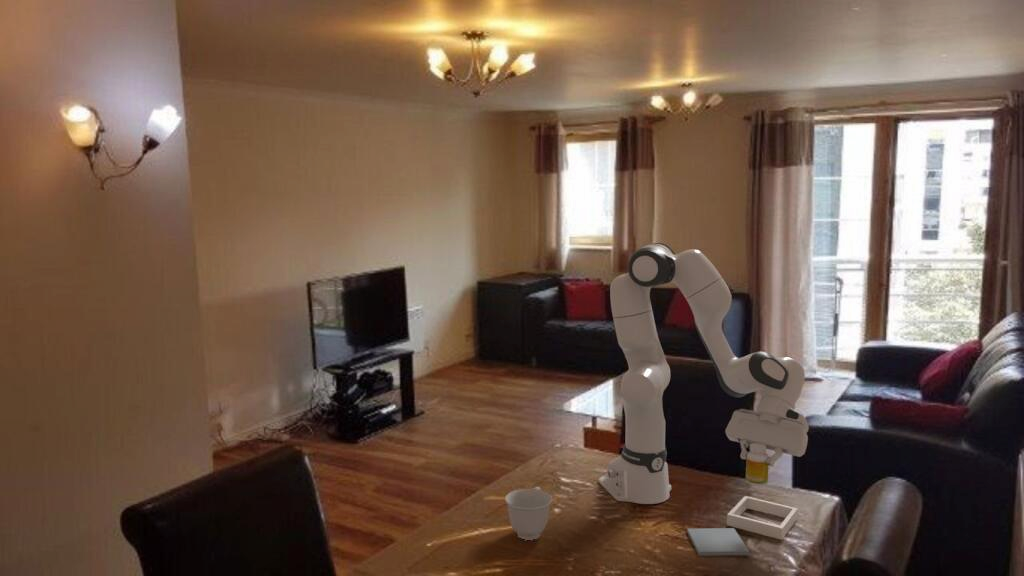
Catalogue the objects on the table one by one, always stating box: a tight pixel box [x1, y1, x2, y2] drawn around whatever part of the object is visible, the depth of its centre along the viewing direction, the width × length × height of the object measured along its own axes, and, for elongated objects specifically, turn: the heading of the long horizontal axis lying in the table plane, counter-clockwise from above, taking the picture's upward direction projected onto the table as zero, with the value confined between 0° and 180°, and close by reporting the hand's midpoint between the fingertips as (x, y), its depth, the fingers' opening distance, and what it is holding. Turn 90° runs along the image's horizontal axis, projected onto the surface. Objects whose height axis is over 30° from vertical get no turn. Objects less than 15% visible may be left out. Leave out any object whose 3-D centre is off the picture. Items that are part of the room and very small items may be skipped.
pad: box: [686, 527, 750, 557], centre depth 184 cm, size 12×12×1 cm
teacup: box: [504, 486, 553, 541], centre depth 189 cm, size 12×15×10 cm
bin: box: [726, 495, 799, 541], centre depth 195 cm, size 14×14×3 cm
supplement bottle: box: [745, 443, 769, 487], centre depth 189 cm, size 5×5×10 cm
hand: (756, 461), depth 189 cm, fingers closed on supplement bottle, 5 cm apart
